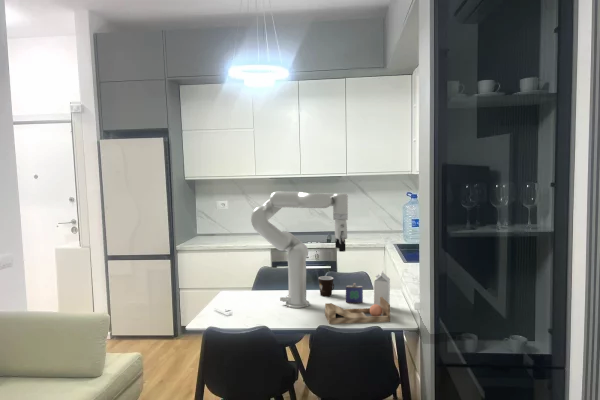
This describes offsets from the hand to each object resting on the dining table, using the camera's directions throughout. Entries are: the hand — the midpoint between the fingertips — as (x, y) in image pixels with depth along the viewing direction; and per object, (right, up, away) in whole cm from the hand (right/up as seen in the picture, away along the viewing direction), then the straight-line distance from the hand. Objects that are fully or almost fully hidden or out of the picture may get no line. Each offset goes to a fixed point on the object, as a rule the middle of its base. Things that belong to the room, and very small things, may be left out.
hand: (340, 249), depth 216 cm
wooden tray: (+7, -31, -15) cm, 36 cm away
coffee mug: (-6, -29, +21) cm, 37 cm away
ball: (+13, -29, -15) cm, 35 cm away
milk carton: (+21, -31, -1) cm, 37 cm away
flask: (+8, -30, +9) cm, 32 cm away
